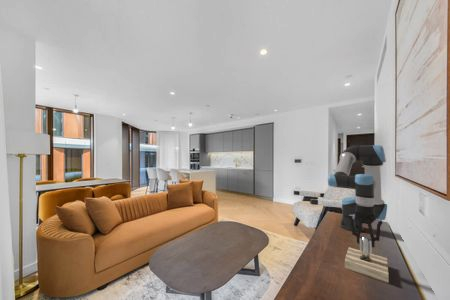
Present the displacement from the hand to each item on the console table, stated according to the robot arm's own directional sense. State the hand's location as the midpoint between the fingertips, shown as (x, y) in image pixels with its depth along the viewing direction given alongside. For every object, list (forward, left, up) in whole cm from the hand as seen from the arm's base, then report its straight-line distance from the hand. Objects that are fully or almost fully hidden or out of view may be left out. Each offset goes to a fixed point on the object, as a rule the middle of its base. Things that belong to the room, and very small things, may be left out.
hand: (365, 251), depth 88 cm
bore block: (0, 0, -8) cm, 8 cm away
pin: (0, 0, -4) cm, 4 cm away
